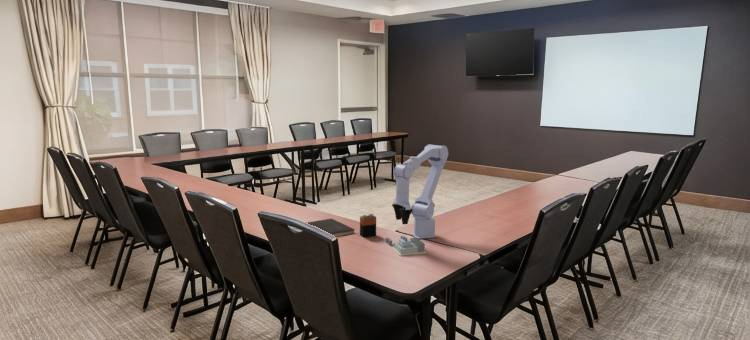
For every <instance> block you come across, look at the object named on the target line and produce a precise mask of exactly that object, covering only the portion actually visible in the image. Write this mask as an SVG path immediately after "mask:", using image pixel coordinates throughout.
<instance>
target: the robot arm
mask: <svg viewBox="0 0 750 340" xmlns="http://www.w3.org/2000/svg"><path fill="white" fill-rule="evenodd" d="M448 157H449V149H448V147H447V145H439V144H438V145H436V144H431V143H429V144H427V145H426V146H424V149H423V150H422V151H421V152H420V153H419V154H417V156H410V157H409V159H407V160H406V161H404V162H403V163H402V164H397V165H396V166H395V167H394V170H393V175H394V180H395V181H396V182H395V185H396V186H395V197H394V199H393V200H394V201H393V203H392V204H391V205H392V208H393V211H394V215H395V219H396V220H397V221H398V220H401V222H402V225H408V222H409V220H410V216H411V215H412V217H413V218H414V220H413V223H414V224H413V232H410V235H411V236H413V238H418V239H419V240H422V239H429V238H430V239H431V238H436V220H435V218H434V214H435V213H434V212H435V206H436V205H435V203H434V201H433V197H434V194H435V191H436V188H437V185H438V183H439V181H440V178H441V174H442V172H443V169H444V166H445V164H446V162H447V159H448ZM426 160H427V161H428V162H429V163H430V165H431V167H430V170H429V173H428V176H427V178H426V181H425V184H424V187H423V189H422V192H421V195H420V196H417V197H416V198H415V199H414V201H413V203H412V204H410V199H409V198H410V179H411V178H412V176H413V173H414V172H416V171H417V170H418V169H419V168H420V167H421V165H422V163H424V162H425V161H426Z"/></svg>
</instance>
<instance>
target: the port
mask: <svg viewBox="0 0 750 340" xmlns="http://www.w3.org/2000/svg"><path fill="white" fill-rule="evenodd" d="M409 240H411V247H406V248H402V247H401V246H400V245H399V241H398V242H393V246H391V249H392V250H393V251H394V252H395V253H396V254H397V255H399V256H400V257H402V256H411V255H412V254H413V255H421V254H422V253H423V254H427V253H428V252H427V251H426V250H425V244H426V243H424V241H422V240H421V239H418V238H415V237H411V238H409Z"/></svg>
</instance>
